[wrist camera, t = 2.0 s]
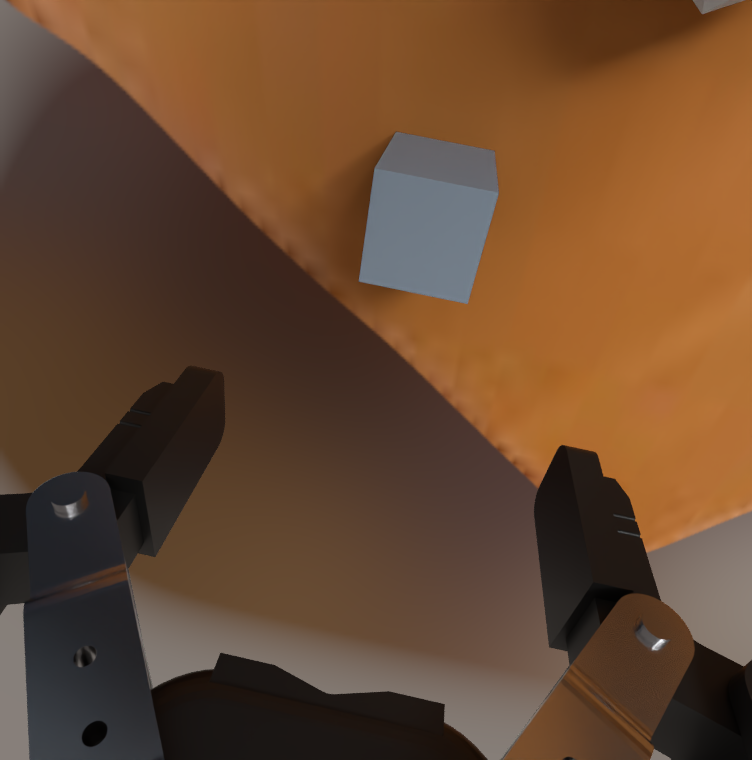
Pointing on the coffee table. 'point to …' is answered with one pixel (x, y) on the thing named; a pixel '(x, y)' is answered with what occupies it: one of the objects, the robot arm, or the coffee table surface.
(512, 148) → the coffee table surface
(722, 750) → the robot arm
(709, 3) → the die
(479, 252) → the block
